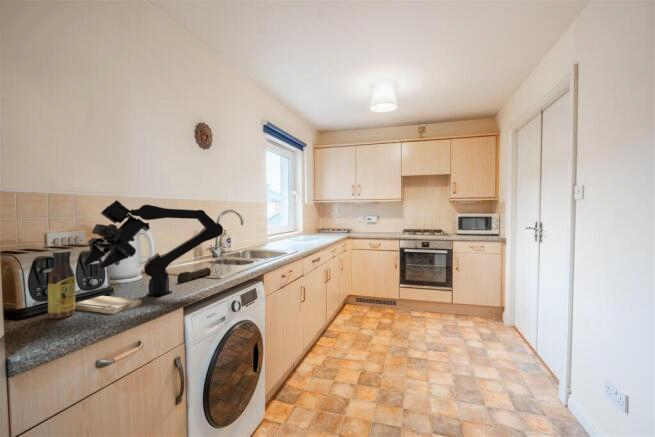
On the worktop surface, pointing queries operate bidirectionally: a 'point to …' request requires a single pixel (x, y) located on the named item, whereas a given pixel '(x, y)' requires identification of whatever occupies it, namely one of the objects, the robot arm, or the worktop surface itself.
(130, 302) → the birch board
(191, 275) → the hand tool
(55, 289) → the sauce bottle
